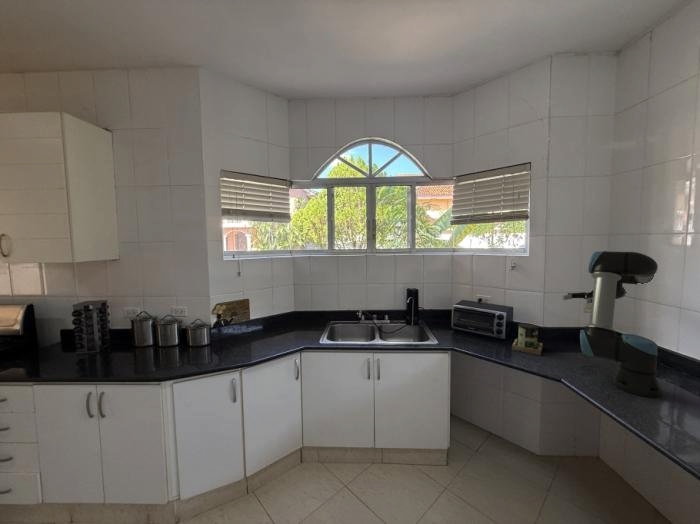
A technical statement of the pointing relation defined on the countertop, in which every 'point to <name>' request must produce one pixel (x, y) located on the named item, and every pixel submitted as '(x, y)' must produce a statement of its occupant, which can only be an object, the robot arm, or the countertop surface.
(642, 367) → the robot arm
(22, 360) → the countertop surface
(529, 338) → the coffee can
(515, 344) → the oak bay tray
